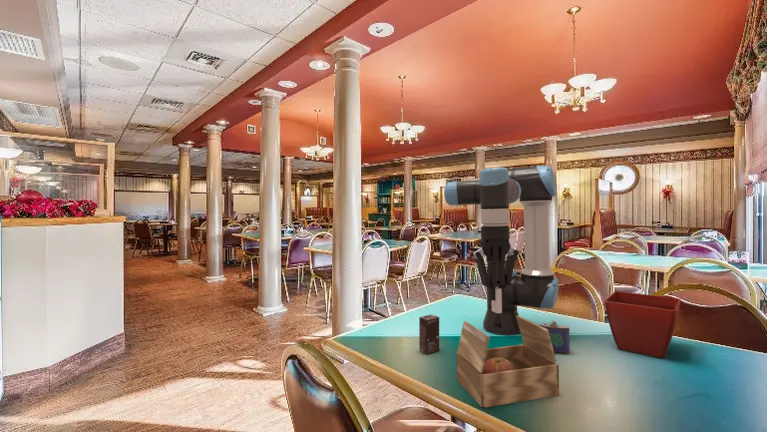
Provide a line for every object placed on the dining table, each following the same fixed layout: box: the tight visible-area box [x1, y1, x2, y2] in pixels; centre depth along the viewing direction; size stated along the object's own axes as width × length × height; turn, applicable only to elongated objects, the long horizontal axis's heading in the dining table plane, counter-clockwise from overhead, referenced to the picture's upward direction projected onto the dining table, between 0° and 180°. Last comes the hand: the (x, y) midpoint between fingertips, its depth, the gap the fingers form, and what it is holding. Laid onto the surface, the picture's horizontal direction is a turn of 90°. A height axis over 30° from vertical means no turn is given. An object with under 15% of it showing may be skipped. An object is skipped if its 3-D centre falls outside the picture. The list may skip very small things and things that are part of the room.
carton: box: [455, 343, 560, 408], centre depth 99 cm, size 22×15×8 cm
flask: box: [539, 320, 571, 355], centre depth 121 cm, size 9×3×11 cm, turn 68°
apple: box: [482, 358, 515, 374], centre depth 98 cm, size 9×9×8 cm
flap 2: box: [516, 314, 557, 363], centre depth 101 cm, size 1×13×9 cm, turn 13°
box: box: [418, 314, 440, 355], centre depth 125 cm, size 6×4×12 cm
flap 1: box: [456, 320, 490, 372], centre depth 96 cm, size 1×13×9 cm, turn 13°
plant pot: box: [604, 290, 682, 359], centre depth 122 cm, size 19×19×17 cm
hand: (496, 311), depth 98 cm, fingers closed
